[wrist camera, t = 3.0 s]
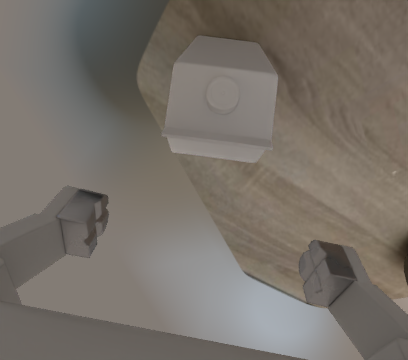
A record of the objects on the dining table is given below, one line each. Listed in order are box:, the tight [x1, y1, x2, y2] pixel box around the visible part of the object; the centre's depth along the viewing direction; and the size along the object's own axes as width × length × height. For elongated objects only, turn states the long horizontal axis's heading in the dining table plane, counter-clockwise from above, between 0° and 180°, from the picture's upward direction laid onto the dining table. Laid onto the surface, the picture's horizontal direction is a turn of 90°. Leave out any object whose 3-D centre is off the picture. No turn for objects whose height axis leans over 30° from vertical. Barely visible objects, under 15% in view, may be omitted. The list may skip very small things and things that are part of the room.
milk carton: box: [161, 36, 278, 163], centre depth 24 cm, size 7×7×19 cm
